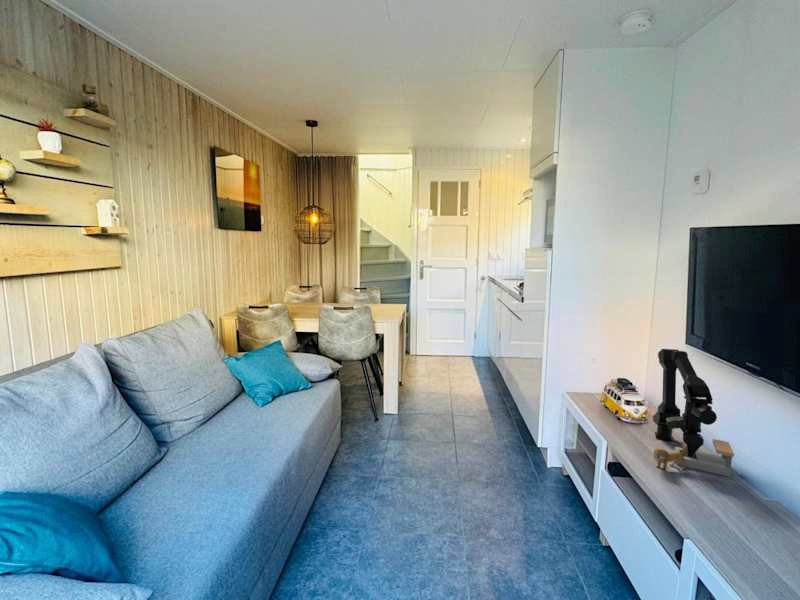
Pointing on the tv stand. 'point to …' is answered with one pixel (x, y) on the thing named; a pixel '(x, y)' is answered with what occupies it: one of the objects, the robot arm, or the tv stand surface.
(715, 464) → the socket block
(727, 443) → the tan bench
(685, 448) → the peg
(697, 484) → the tv stand surface
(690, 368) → the robot arm
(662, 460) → the lion figurine
